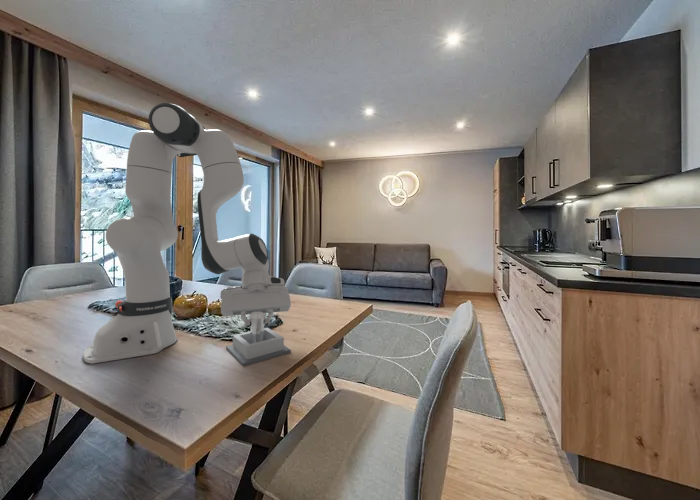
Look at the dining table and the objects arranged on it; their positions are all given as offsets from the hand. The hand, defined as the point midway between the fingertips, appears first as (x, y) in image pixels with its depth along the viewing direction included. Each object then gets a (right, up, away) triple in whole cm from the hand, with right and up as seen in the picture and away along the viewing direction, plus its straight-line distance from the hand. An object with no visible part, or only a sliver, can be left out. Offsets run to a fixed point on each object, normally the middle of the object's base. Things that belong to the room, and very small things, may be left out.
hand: (257, 325), depth 86 cm
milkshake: (0, -6, +1) cm, 6 cm away
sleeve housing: (0, -8, +1) cm, 8 cm away
